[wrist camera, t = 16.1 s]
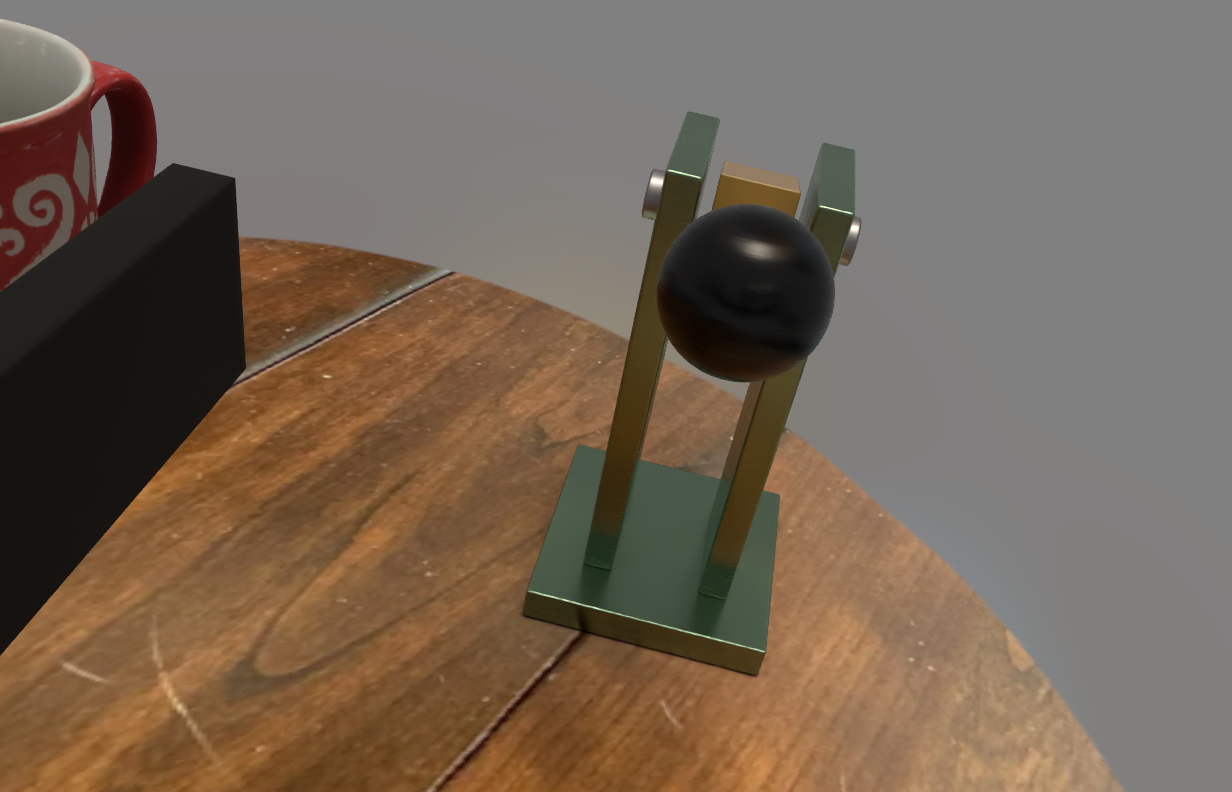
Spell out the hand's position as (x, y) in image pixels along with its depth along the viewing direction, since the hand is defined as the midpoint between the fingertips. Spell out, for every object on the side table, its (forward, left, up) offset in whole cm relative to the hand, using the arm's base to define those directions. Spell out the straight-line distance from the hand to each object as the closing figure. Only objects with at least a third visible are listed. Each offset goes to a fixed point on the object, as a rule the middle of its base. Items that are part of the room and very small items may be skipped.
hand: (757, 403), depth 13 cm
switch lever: (+9, -8, -6) cm, 14 cm away
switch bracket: (+13, -11, -20) cm, 26 cm away
